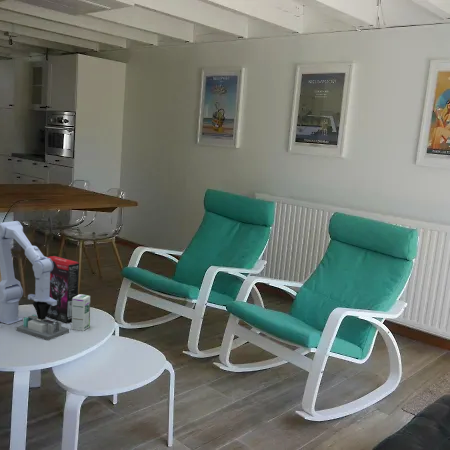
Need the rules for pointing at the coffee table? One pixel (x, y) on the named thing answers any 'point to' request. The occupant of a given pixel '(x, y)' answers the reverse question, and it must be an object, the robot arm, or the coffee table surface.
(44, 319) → the clamp strap
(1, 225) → the robot arm
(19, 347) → the coffee table surface
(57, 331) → the clamp board
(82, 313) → the syrup box
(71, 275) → the graphics card box
